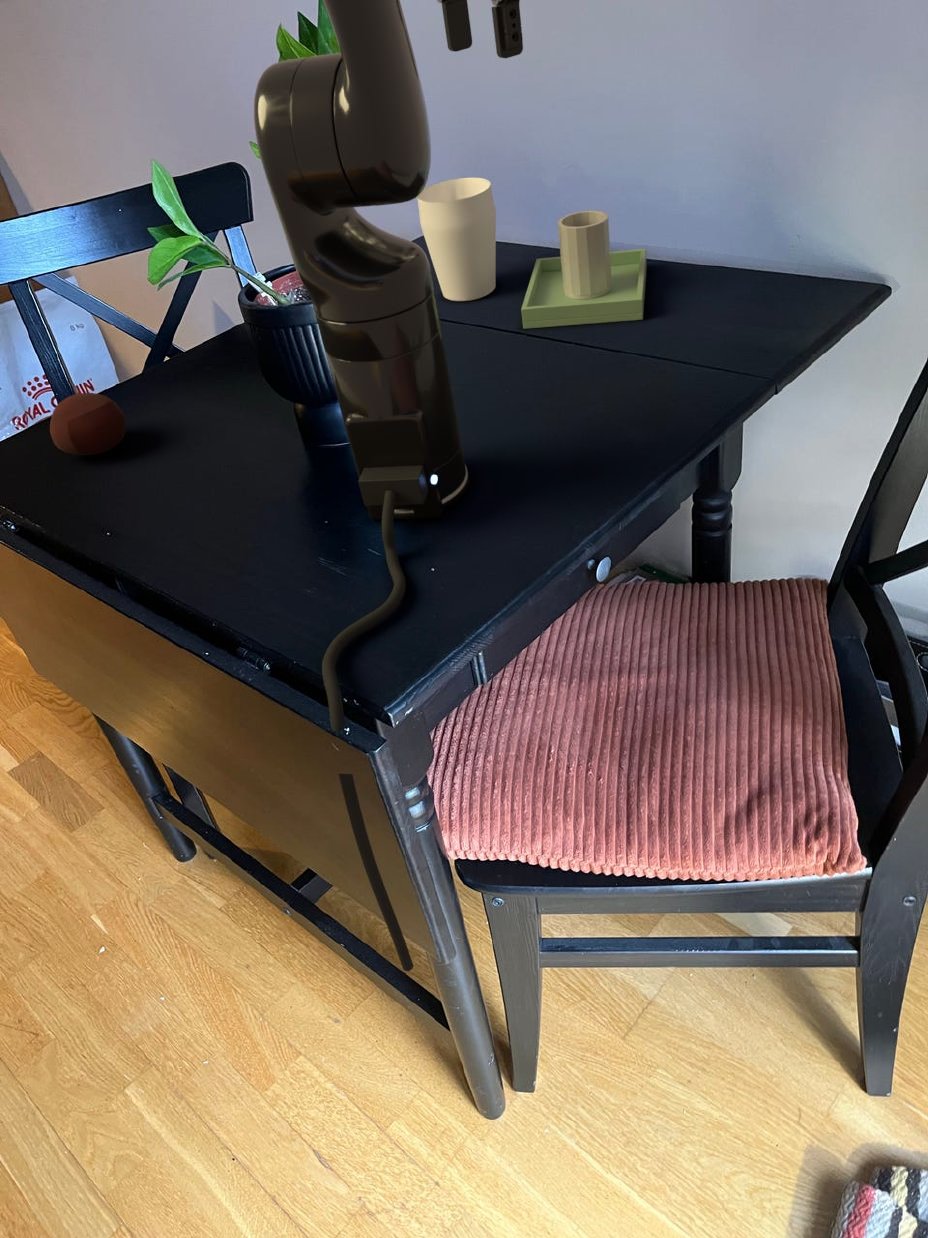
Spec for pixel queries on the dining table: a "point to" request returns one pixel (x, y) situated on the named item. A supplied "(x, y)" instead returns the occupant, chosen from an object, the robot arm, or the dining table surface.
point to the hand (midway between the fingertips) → (484, 52)
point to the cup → (461, 236)
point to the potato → (87, 424)
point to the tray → (556, 309)
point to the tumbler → (585, 254)
